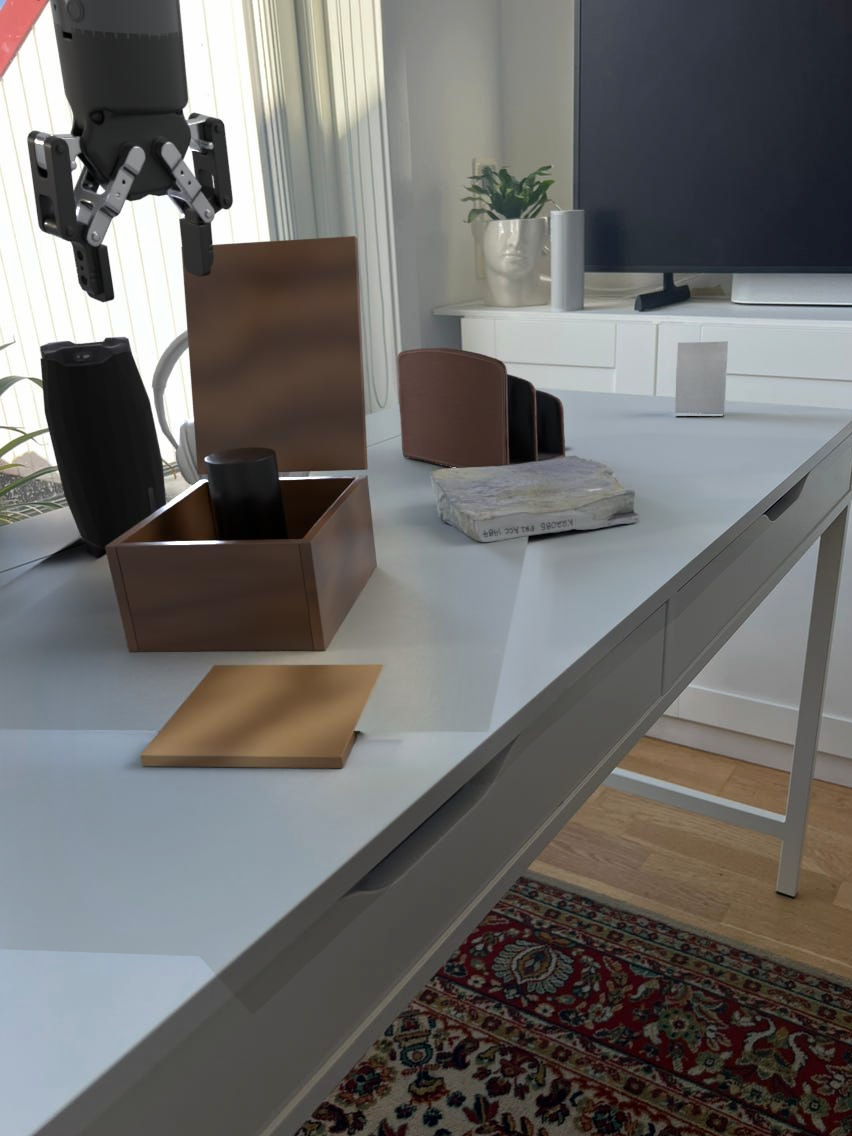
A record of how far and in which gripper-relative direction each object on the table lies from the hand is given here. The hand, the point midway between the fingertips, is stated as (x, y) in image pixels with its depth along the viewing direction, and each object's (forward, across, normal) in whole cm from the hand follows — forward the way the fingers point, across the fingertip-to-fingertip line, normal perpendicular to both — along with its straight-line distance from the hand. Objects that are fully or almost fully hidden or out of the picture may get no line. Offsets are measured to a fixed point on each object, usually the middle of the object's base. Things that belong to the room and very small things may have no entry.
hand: (151, 285), depth 69 cm
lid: (+7, -10, +2) cm, 12 cm away
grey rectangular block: (+32, -82, +12) cm, 88 cm away
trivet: (+18, +13, +25) cm, 33 cm away
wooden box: (+22, +2, +12) cm, 25 cm away
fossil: (+25, -31, +17) cm, 43 cm away
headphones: (+32, -21, -14) cm, 41 cm away
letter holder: (+31, -46, -1) cm, 56 cm away
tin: (+22, +2, +12) cm, 25 cm away
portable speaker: (+30, -4, -14) cm, 33 cm away
